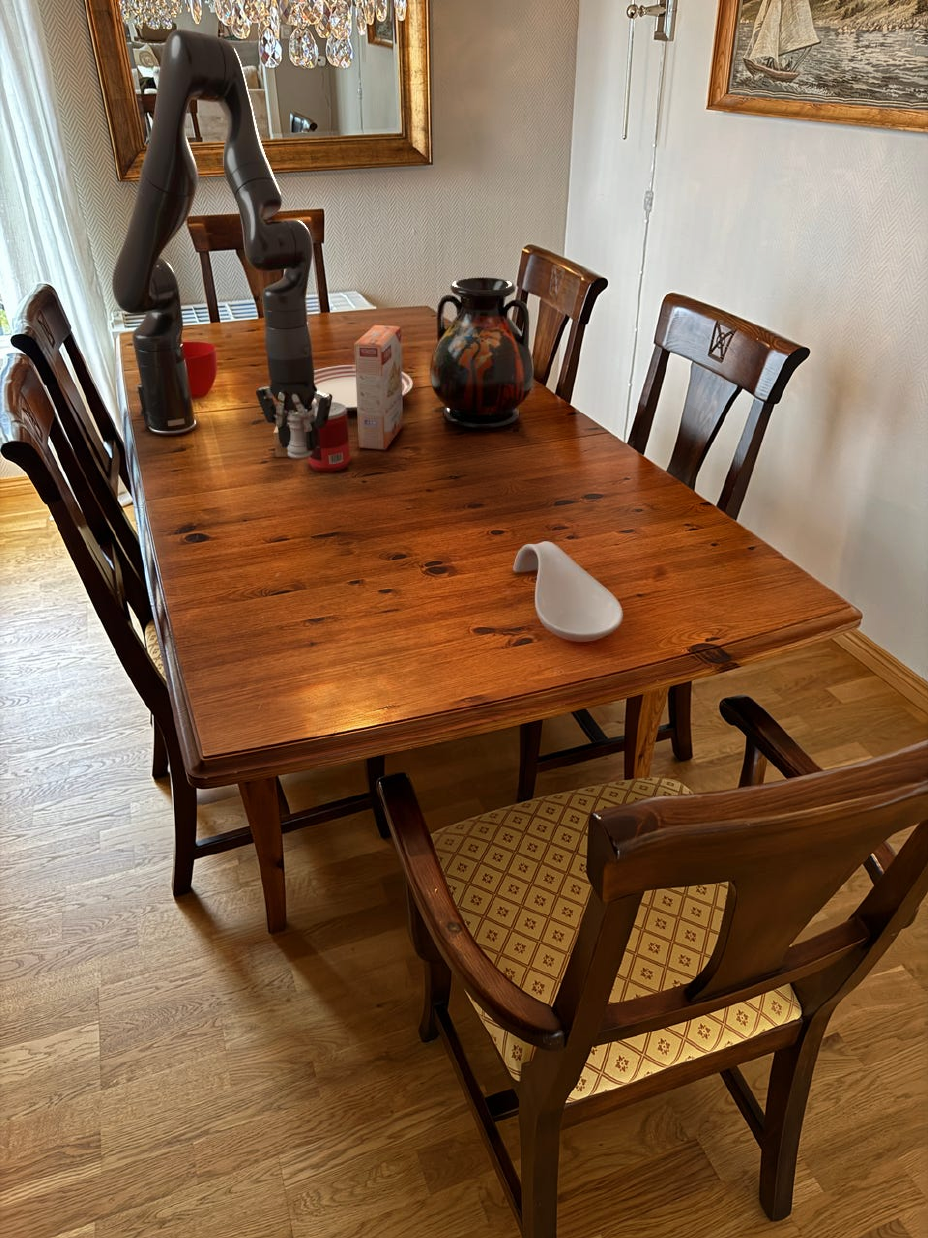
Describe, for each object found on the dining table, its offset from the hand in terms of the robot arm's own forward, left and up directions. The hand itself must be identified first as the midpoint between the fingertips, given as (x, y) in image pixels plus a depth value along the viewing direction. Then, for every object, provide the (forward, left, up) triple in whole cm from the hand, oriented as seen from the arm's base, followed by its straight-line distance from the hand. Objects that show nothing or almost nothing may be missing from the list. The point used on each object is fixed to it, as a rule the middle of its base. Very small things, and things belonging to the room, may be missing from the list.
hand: (299, 447), depth 158 cm
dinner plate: (-12, +47, -8) cm, 49 cm away
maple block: (-10, +14, -8) cm, 19 cm away
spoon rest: (+54, -25, -8) cm, 60 cm away
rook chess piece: (0, 0, -2) cm, 2 cm away
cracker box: (+4, +27, -8) cm, 28 cm away
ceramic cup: (-48, +39, -8) cm, 62 cm away
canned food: (0, +11, -8) cm, 13 cm away
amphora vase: (+20, +43, -8) cm, 48 cm away
